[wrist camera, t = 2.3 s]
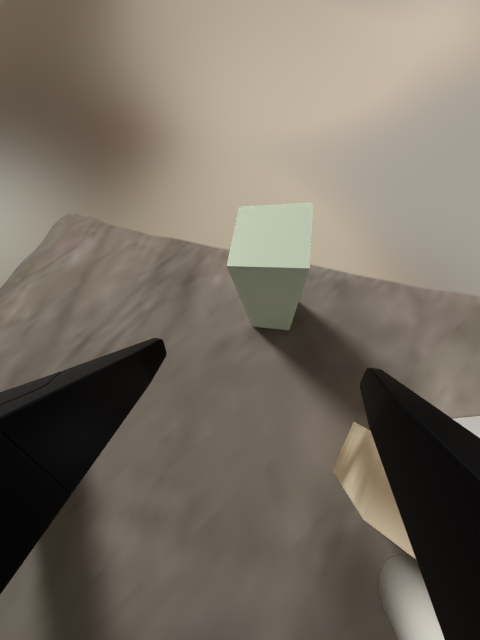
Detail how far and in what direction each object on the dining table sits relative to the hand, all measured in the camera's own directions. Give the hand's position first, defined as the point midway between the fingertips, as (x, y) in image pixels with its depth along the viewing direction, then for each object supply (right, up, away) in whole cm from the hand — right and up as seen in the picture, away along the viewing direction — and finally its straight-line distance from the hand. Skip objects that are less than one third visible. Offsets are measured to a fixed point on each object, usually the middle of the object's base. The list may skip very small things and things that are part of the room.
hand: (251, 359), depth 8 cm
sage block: (+4, +3, +15) cm, 15 cm away
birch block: (+12, -12, +8) cm, 19 cm away
